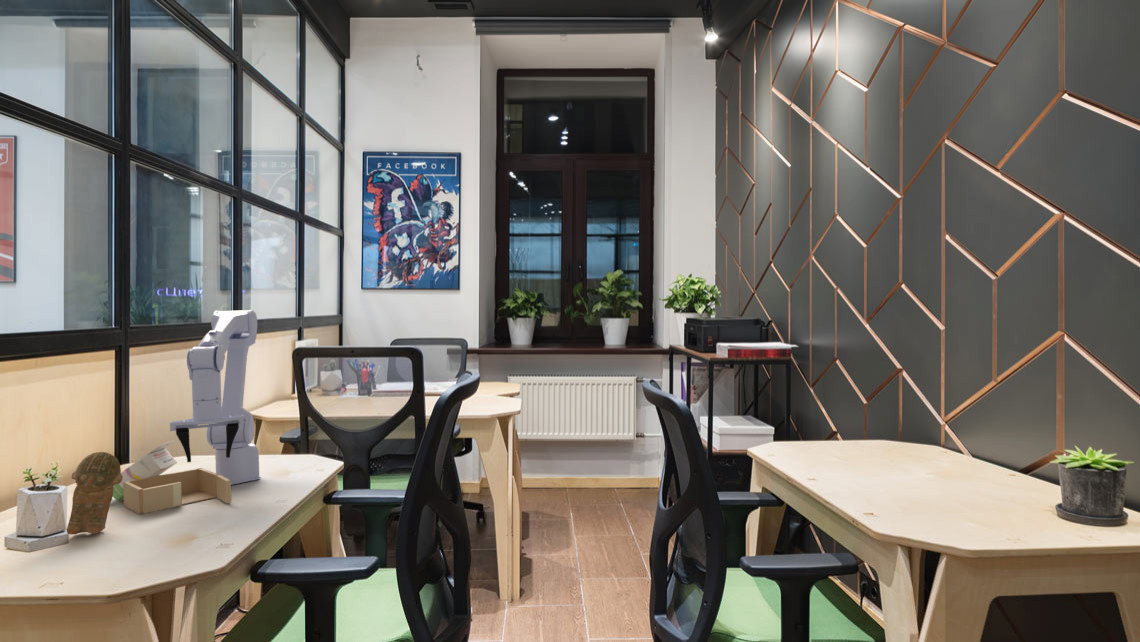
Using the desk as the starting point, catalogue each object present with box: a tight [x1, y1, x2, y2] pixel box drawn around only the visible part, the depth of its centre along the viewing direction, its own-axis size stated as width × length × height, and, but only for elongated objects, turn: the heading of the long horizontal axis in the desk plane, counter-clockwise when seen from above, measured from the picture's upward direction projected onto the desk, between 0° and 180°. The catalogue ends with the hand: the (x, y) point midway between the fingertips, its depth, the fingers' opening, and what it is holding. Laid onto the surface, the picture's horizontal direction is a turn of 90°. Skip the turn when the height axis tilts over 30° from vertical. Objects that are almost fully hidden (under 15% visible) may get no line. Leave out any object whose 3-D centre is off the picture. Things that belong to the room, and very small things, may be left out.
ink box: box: [112, 439, 178, 502], centre depth 153 cm, size 9×5×15 cm
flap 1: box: [142, 482, 183, 514], centre depth 141 cm, size 7×1×5 cm, turn 139°
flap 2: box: [216, 475, 232, 504], centre depth 147 cm, size 7×1×5 cm, turn 44°
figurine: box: [66, 451, 123, 535], centre depth 127 cm, size 8×8×15 cm
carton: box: [123, 467, 219, 515], centre depth 148 cm, size 16×11×5 cm
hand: (208, 459), depth 147 cm, fingers open, 7 cm apart
